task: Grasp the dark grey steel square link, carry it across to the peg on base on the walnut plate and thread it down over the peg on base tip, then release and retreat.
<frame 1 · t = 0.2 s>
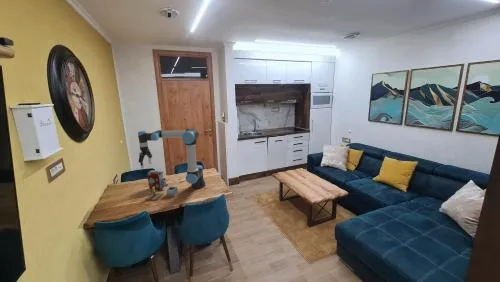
hand: (146, 166, 223), 28 cm above the table, fingers open, 13 cm apart
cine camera: (159, 188, 234), on the table
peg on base: (154, 197, 215), on the table
steel link: (172, 194, 219), on the table
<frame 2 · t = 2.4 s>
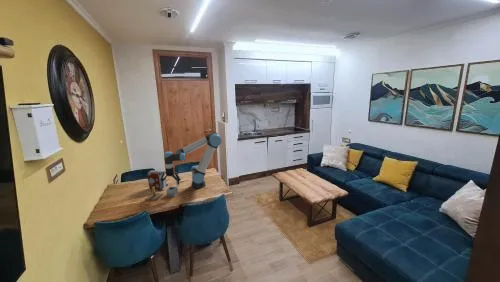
hand: (171, 187, 217), 8 cm above the table, fingers open, 13 cm apart
nothing on the table moved.
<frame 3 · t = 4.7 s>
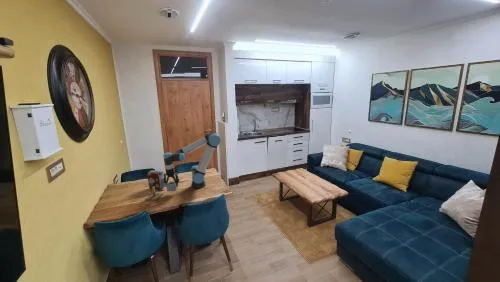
hand: (172, 189, 218), 6 cm above the table, fingers closed on steel link, 8 cm apart
steel link: (172, 189, 218), point 6 cm above the table, touching gripper
everything else where it was.
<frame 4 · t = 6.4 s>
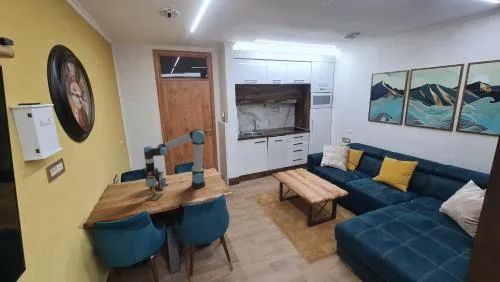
hand: (152, 184, 211), 14 cm above the table, fingers closed on steel link, 8 cm apart
steel link: (152, 184, 211), point 14 cm above the table, touching gripper
everything else where it was.
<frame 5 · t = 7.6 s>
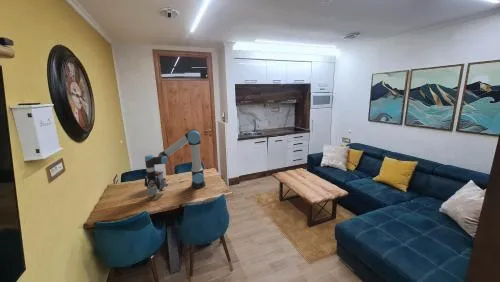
hand: (153, 192, 213), 5 cm above the table, fingers closed on steel link, 8 cm apart
steel link: (153, 192, 213), point 5 cm above the table, touching gripper
everything else where it was.
when the fingers open (4 cm above the table, at t = 8.3 s): steel link drops 2 cm, resting on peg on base.
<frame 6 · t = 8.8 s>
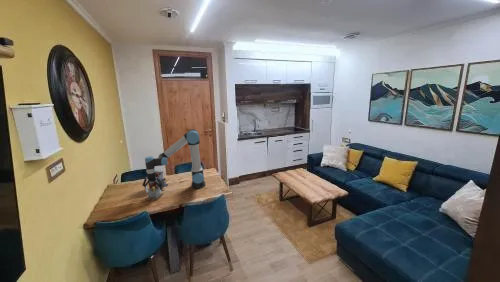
hand: (153, 192, 213), 5 cm above the table, fingers open, 13 cm apart
steel link: (154, 196, 214), point 1 cm above the table, touching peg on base
everything else where it was.
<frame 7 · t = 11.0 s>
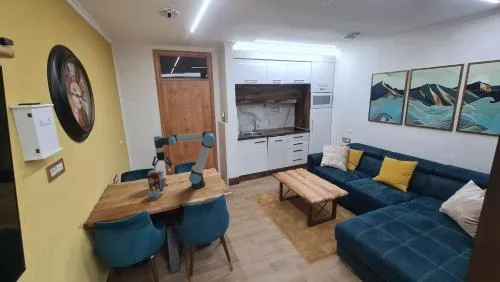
hand: (163, 171, 217), 24 cm above the table, fingers open, 13 cm apart
nothing on the table moved.
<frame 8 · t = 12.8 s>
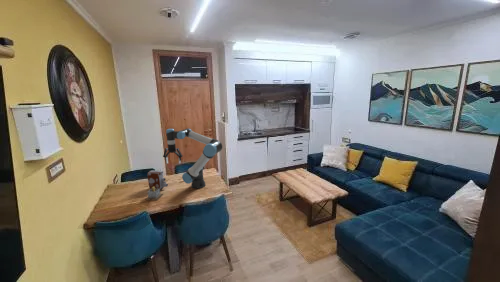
hand: (173, 163, 226), 29 cm above the table, fingers open, 13 cm apart
nothing on the table moved.
at the end: steel link 0.1 cm off-centre on the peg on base, point 1.0 cm above the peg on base's base; the gripper is holding nothing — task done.
